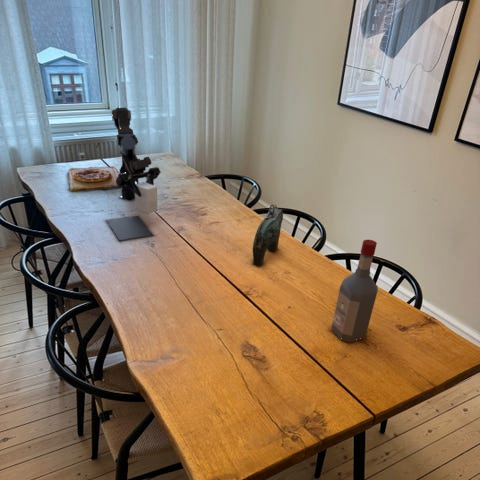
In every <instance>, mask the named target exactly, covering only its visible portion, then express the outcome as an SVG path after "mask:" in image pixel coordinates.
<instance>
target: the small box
mask: <svg viewBox="0 0 480 480" xmlns="http://www.w3.org/2000/svg"><path fill="white" fill-rule="evenodd" d="M136 185H137V187H138V189H139V191H140V193H141V197H139V196H138V195H137V194H136V193H135V199H134V206H135V210H138V211H141V212H143V213H146V214H148V215H149V214H150V213H151V214H152V213H154V212H155V213H156V212H157V211H158V210H159V209H158V208H159V207H158V186H156V185H151V184H148V183H146V181H143V182H138V184H136Z"/></svg>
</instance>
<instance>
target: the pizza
mask: <svg viewBox="0 0 480 480" xmlns="http://www.w3.org/2000/svg"><path fill="white" fill-rule="evenodd" d="M118 174H120V171H118V168H117V167H116V166H115V165H113V166H98V167H97V166H90V167H81V168H80V167H79V168H77V167H74V168H73V167H72V168H68V172H67V175H68V182H69V186H70V187H69V189H68V190H69V191H70V192H73V193H74V192H77V193H78V192H90V191H105V190H108V189H111V188H116V187H118V186H117V183H116V179H117V177H118Z"/></svg>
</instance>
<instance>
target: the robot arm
mask: <svg viewBox="0 0 480 480" xmlns="http://www.w3.org/2000/svg"><path fill="white" fill-rule="evenodd" d="M111 119H112V120H111V121H112V122H113V124H114V127H115V128H116V130H117V134H116V144H117V146H119V149H120V151H119V155H120V159H121V166H120V168H119V174H118V177H117V179H116V183H117V186H116V187H119V188H121V196H119V197H120V199H123V200H125V201H134V200H135V193H136V194H137V195H138V196H139V197H141V193H140V191H139V189H138V187H137V185H136V184H138V183H139V179H143V178H145V179H146V180H145V182H146V183H148V184H151V185H154V181H155V180H156V179H158V177H159V175H160V174H161V172H162V171H161V169H160V167H158V166H155V167H150V166H151V165H152V159H151V157H150V156H145V157H143V159H140V158H138V156H137V154H136V146H137V144H139V139H138V137H137V136H136V134H134V129H133V128H130V126H131V122H132V111H131V110H130V109H128V108H126V107H115V109H112V110H111ZM147 168H149V169H148V170H147ZM146 170H147V171H146ZM154 186H155V185H154Z"/></svg>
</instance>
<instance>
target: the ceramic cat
mask: <svg viewBox="0 0 480 480" xmlns="http://www.w3.org/2000/svg"><path fill="white" fill-rule="evenodd" d="M267 211H268V212H267V214H266V217H265V218H264V219H263V220H262V221H261V222H260V223H259V225H258V227H257V229H256V232H255V235H254V239H253V242H252V259H253V260H252V265H254V266H258V267H261V266H262V265H263V264H264V259H265V256H266V253H267V250H268V251H269V252H276V251H277V250H278V248H279V242H280V236H281V231H282V230H281V229H282V224H283V223H282V222H283V220H284V211H283V209H280V208H278V207H277V205H276V204H270V206H269V209H268V210H267Z"/></svg>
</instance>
